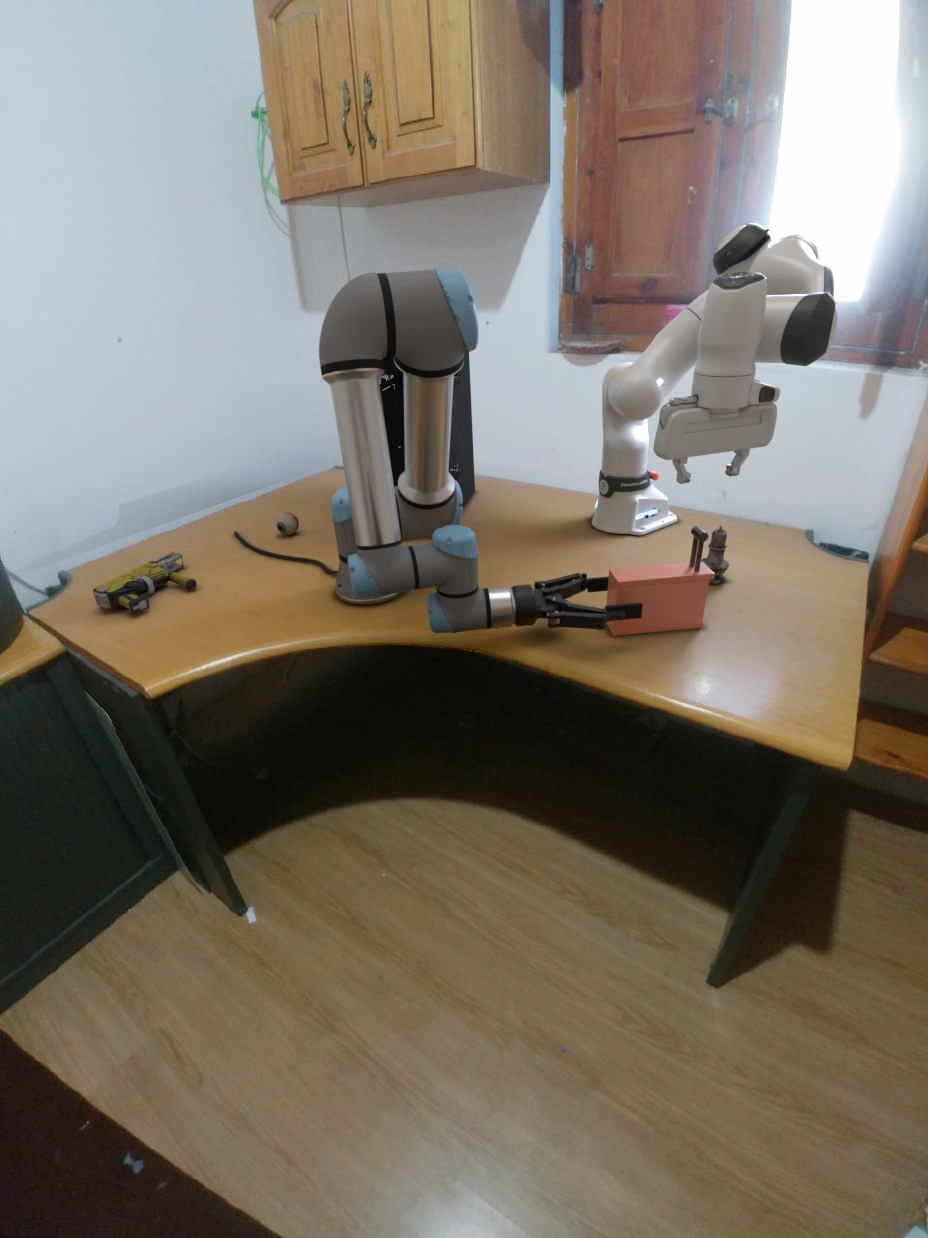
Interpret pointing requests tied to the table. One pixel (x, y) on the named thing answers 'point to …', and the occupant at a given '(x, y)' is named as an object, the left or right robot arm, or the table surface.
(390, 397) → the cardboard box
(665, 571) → the lid
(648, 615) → the chest
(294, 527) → the eyeball
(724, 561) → the salt shaker
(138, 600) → the toy gun
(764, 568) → the table surface
